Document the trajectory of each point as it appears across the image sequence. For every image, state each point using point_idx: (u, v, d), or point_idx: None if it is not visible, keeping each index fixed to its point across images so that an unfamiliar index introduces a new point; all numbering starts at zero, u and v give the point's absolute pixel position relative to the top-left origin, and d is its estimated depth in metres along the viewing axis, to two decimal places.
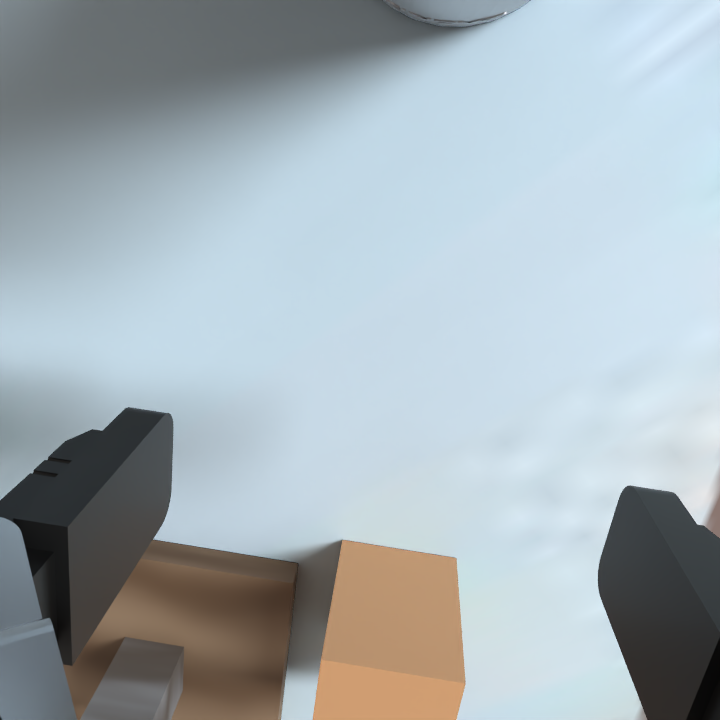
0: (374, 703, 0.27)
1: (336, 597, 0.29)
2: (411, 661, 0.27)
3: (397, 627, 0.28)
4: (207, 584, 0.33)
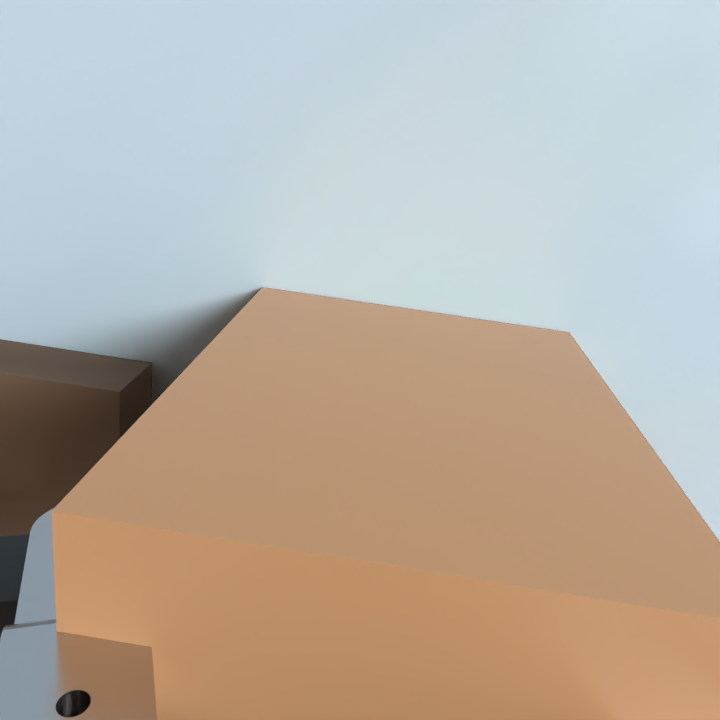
0: None
1: (206, 363, 0.09)
2: (493, 534, 0.06)
3: (419, 436, 0.07)
4: None
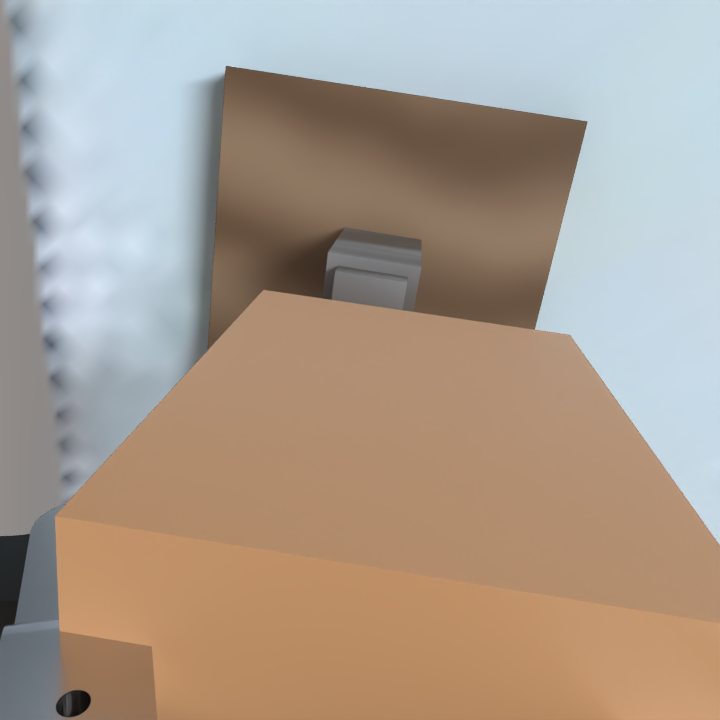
0: None
1: (208, 366, 0.09)
2: (494, 539, 0.06)
3: (422, 440, 0.07)
4: (470, 130, 0.25)
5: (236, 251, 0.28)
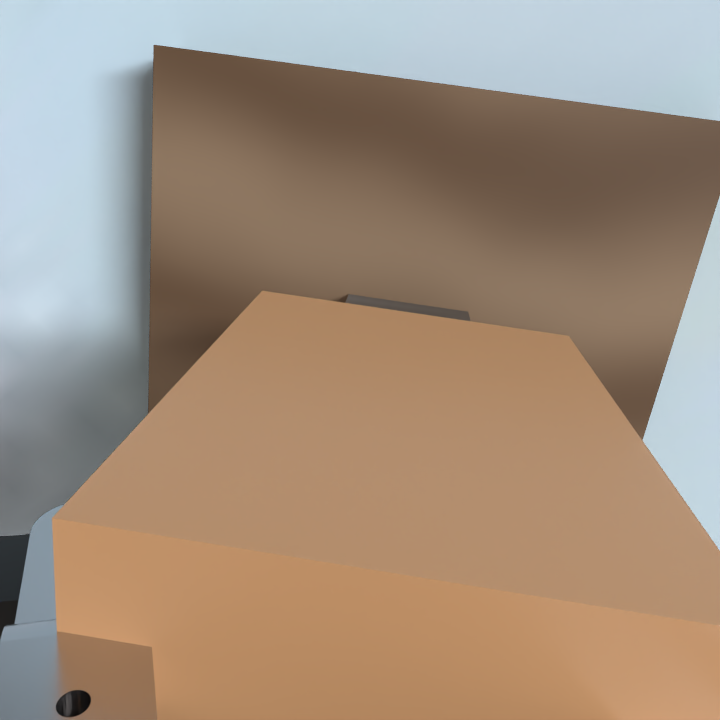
0: None
1: (206, 366, 0.09)
2: (492, 540, 0.06)
3: (419, 441, 0.07)
4: (548, 141, 0.16)
5: (183, 331, 0.18)
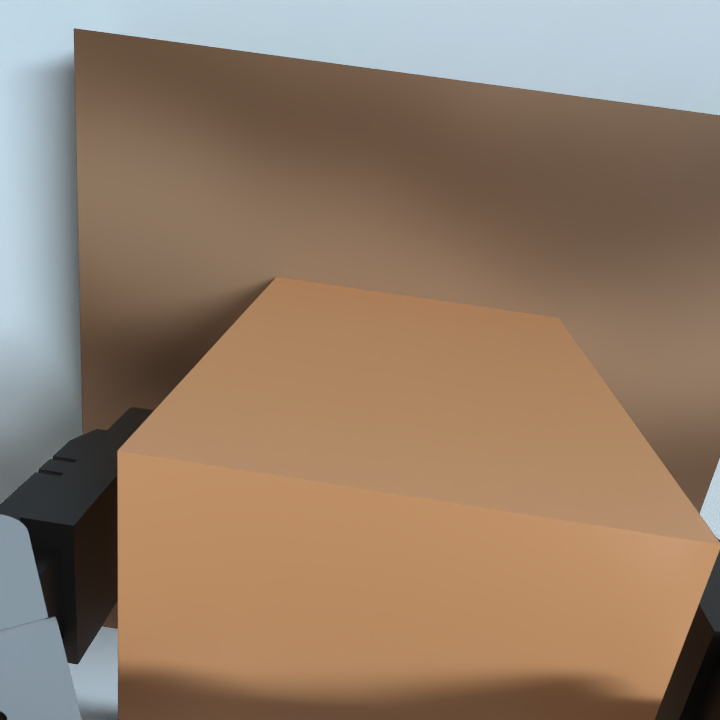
0: (341, 642, 0.07)
1: (232, 339, 0.10)
2: (484, 474, 0.07)
3: (422, 400, 0.08)
4: (584, 154, 0.12)
5: (123, 387, 0.15)
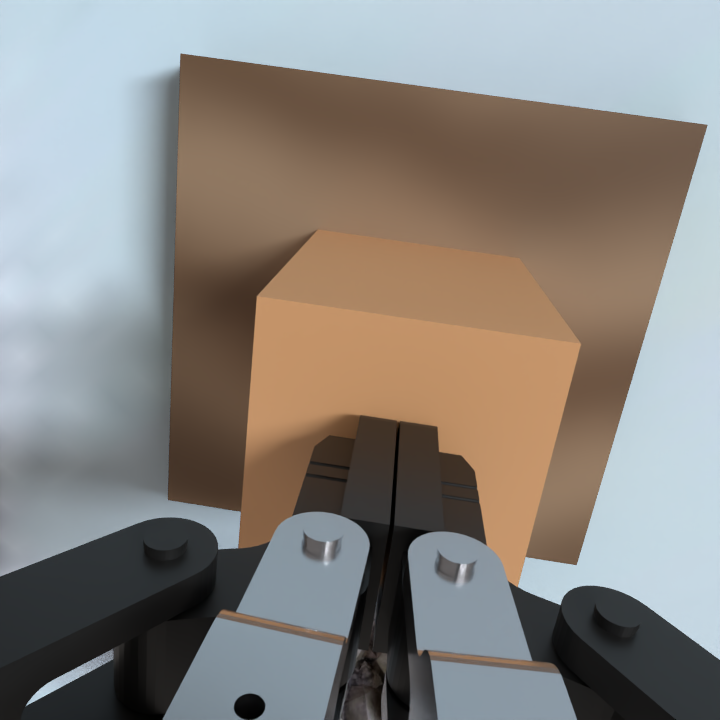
0: (376, 411, 0.12)
1: (299, 258, 0.15)
2: (456, 315, 0.12)
3: (422, 288, 0.14)
4: (534, 140, 0.18)
5: (204, 313, 0.20)
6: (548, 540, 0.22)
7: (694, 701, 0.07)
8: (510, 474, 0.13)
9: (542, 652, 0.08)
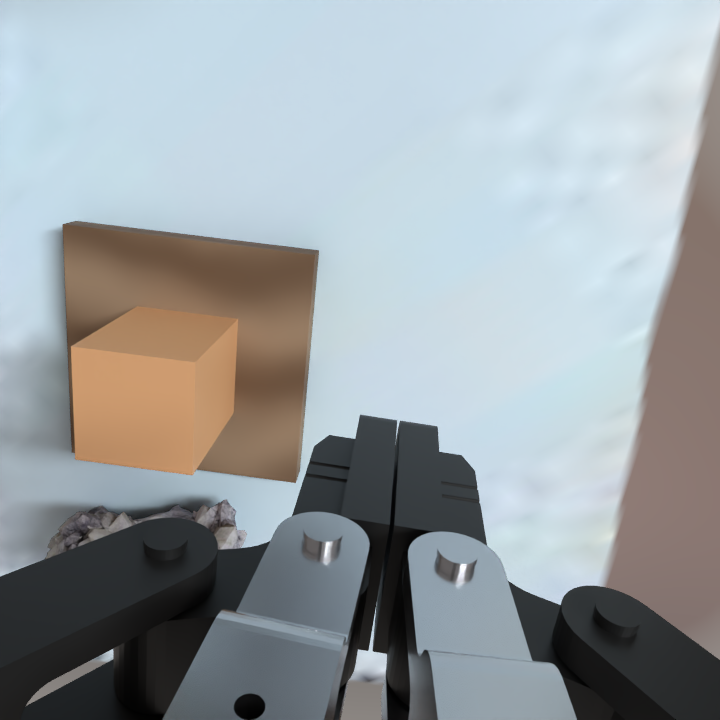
0: (123, 391, 0.30)
1: (108, 325, 0.33)
2: (154, 352, 0.30)
3: (154, 339, 0.32)
4: (236, 262, 0.36)
5: None
6: (278, 469, 0.40)
7: (694, 701, 0.07)
8: (179, 416, 0.31)
9: (542, 652, 0.08)
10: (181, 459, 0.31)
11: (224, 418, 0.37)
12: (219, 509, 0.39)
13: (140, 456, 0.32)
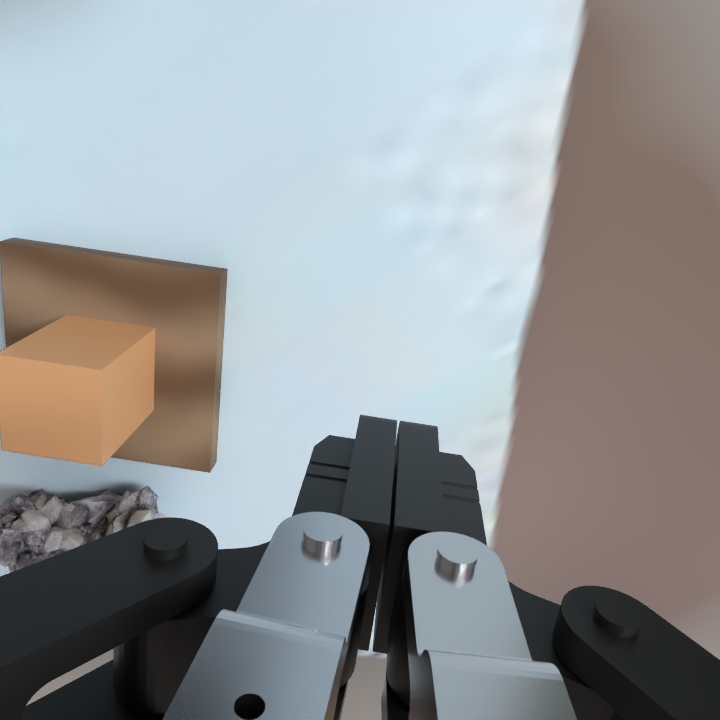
0: (40, 393, 0.35)
1: (34, 334, 0.38)
2: (67, 360, 0.35)
3: (71, 348, 0.37)
4: (152, 279, 0.41)
5: None
6: (194, 460, 0.45)
7: (694, 701, 0.07)
8: (89, 415, 0.36)
9: (542, 652, 0.08)
10: (92, 452, 0.36)
11: (141, 415, 0.42)
12: (140, 494, 0.44)
13: (57, 449, 0.37)
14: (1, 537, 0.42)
